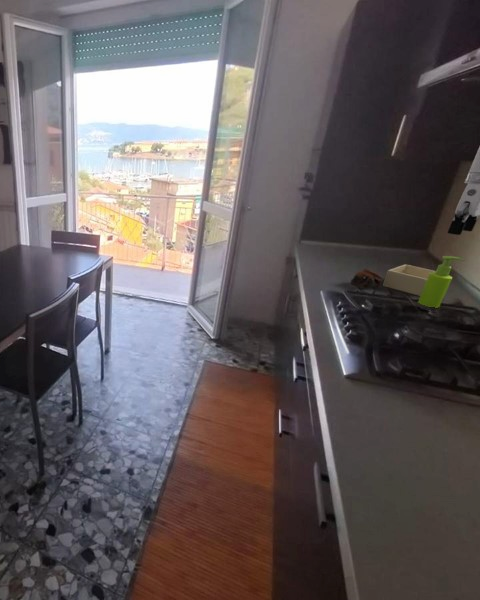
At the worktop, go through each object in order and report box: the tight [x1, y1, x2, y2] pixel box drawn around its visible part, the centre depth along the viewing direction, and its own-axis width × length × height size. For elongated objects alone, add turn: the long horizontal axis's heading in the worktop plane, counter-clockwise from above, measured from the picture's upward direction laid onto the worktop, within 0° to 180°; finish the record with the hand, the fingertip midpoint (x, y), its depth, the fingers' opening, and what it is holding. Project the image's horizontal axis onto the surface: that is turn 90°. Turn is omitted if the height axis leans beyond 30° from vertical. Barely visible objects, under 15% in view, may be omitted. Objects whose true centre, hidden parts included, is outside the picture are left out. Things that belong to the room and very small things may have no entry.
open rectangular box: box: [382, 263, 436, 297], centre depth 149 cm, size 14×16×7 cm
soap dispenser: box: [417, 255, 465, 308], centre depth 127 cm, size 6×7×20 cm
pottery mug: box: [349, 268, 383, 289], centre depth 150 cm, size 12×10×8 cm
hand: (459, 232), depth 119 cm, fingers open, 9 cm apart
